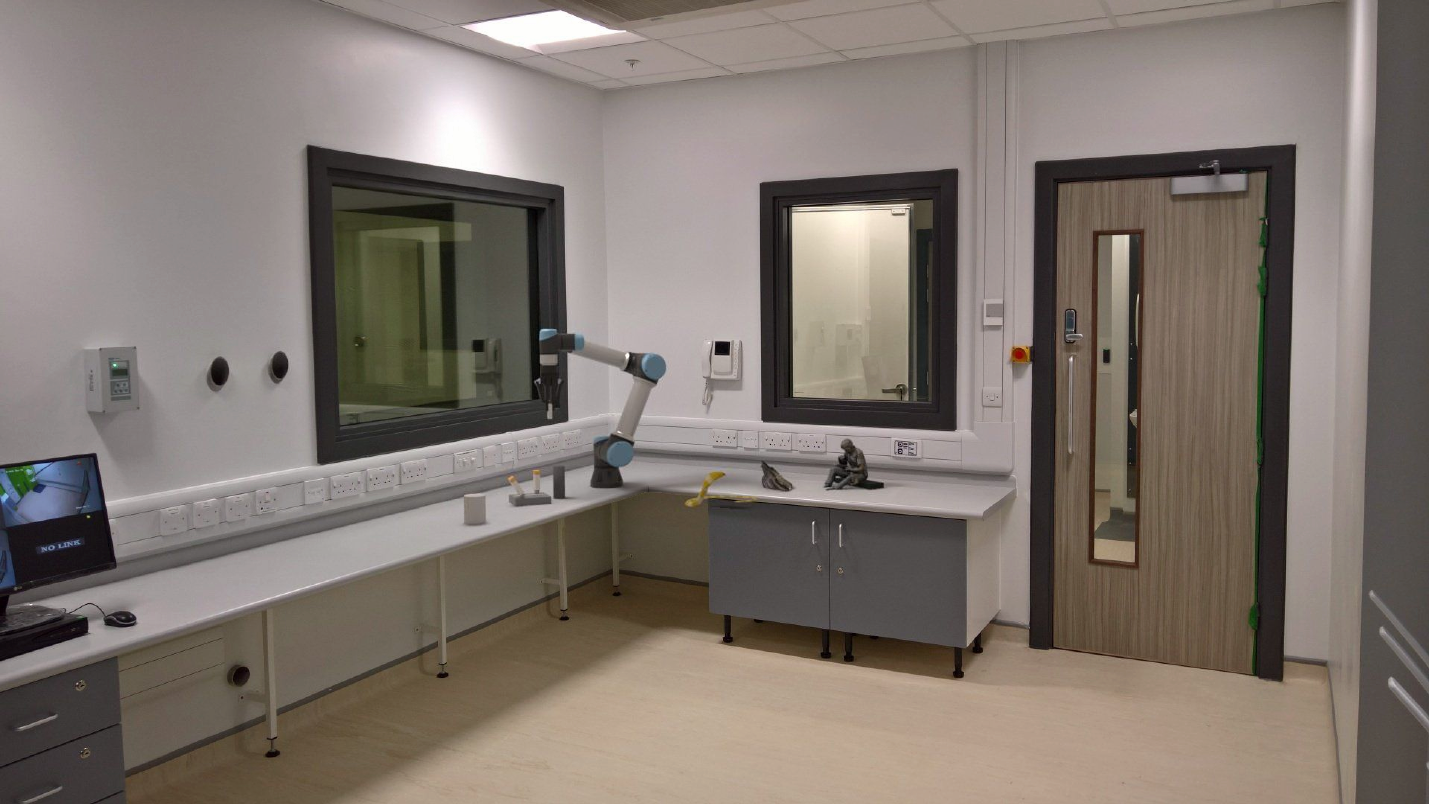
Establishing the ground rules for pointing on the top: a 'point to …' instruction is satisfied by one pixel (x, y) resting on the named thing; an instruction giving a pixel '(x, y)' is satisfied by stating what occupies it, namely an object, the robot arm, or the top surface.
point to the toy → (707, 482)
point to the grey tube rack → (530, 499)
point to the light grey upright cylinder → (474, 508)
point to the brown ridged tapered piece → (773, 478)
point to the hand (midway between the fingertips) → (549, 418)
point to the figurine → (851, 470)
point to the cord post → (558, 482)
